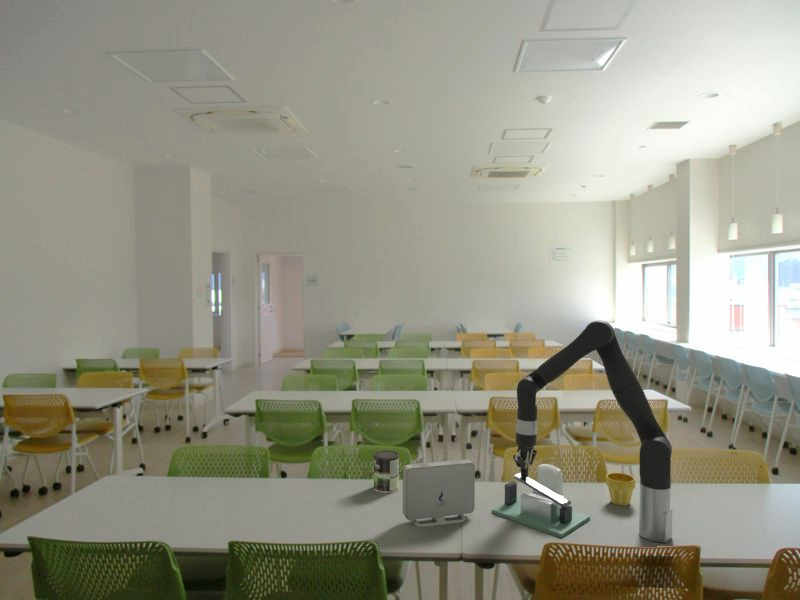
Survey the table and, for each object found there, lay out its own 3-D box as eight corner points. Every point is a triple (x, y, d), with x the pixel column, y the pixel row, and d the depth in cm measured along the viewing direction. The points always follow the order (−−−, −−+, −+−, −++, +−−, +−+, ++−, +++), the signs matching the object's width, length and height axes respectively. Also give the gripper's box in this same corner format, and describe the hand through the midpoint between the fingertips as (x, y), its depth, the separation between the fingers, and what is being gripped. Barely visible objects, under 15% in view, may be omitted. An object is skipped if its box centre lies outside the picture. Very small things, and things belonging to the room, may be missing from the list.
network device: (407, 528, 190) (407, 470, 189) (400, 518, 198) (400, 462, 197) (476, 520, 196) (477, 464, 196) (467, 510, 205) (467, 456, 204)
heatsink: (575, 517, 196) (575, 497, 196) (561, 526, 189) (561, 505, 189) (515, 498, 213) (515, 479, 213) (500, 505, 206) (500, 486, 206)
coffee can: (377, 494, 220) (377, 459, 219) (370, 485, 230) (370, 451, 229) (402, 491, 223) (402, 456, 222) (394, 482, 233) (394, 449, 232)
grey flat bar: (570, 505, 194) (571, 501, 194) (564, 508, 191) (565, 505, 191) (519, 475, 208) (520, 471, 208) (513, 478, 205) (514, 474, 205)
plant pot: (607, 506, 209) (607, 480, 209) (604, 495, 219) (604, 471, 219) (637, 508, 207) (637, 482, 207) (632, 498, 217) (632, 473, 217)
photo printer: (535, 493, 221) (535, 463, 221) (542, 491, 224) (542, 460, 224) (557, 501, 213) (558, 469, 213) (564, 499, 216) (564, 467, 216)
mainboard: (589, 519, 198) (590, 516, 197) (561, 537, 183) (561, 534, 183) (521, 497, 217) (521, 494, 217) (491, 512, 203) (491, 509, 203)
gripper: (525, 437, 196) (523, 485, 197) (544, 430, 206) (542, 476, 207) (507, 432, 201) (505, 479, 202) (527, 425, 211) (525, 470, 212)
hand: (524, 477), depth 205 cm, fingers closed
